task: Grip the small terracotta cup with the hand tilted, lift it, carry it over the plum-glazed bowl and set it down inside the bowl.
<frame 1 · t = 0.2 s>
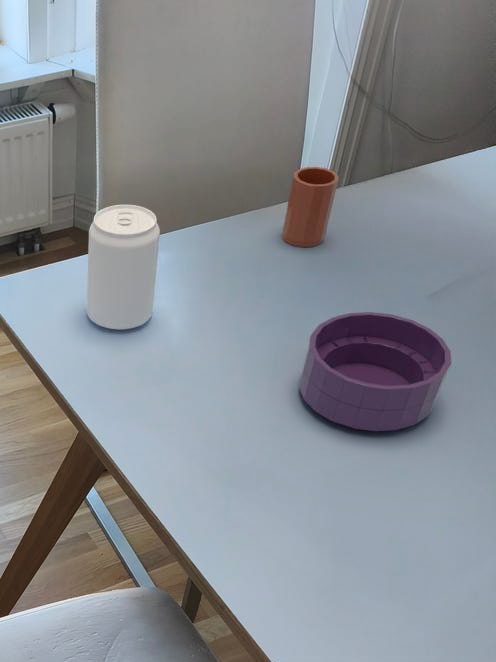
beverage can: (119, 317, 109), on the table
cup: (302, 237, 120), on the table
bowl: (363, 396, 97), on the table
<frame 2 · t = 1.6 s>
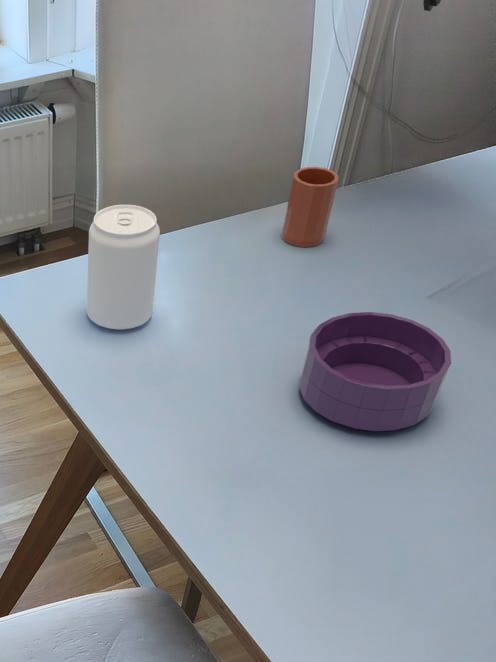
hand: (392, 0, 106), 24 cm above the table, tool tilted 45°, fingers open, 8 cm apart
nothing on the table moved.
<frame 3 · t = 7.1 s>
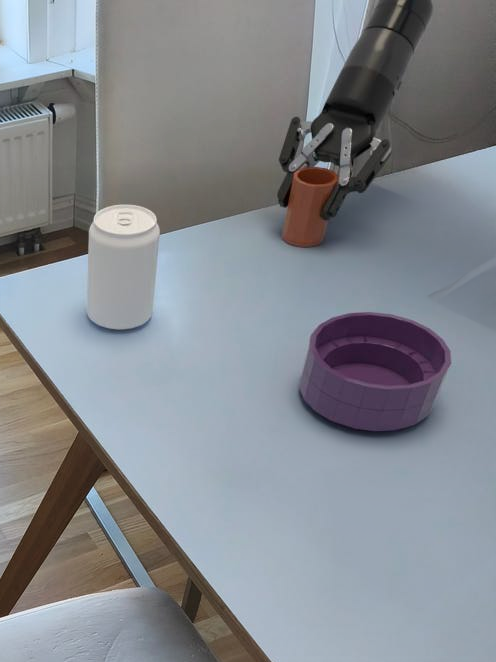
hand: (303, 210, 116), 4 cm above the table, tool tilted 45°, fingers closed on cup, 5 cm apart
cup: (302, 237, 120), on the table, touching gripper
everything else where it was.
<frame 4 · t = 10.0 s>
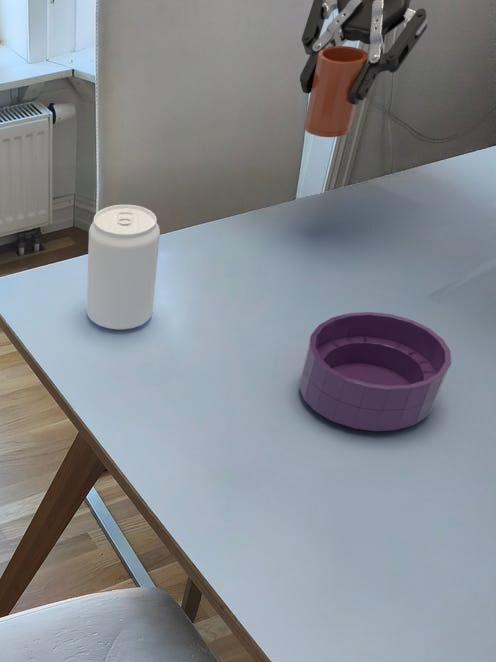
hand: (328, 94, 105), 18 cm above the table, tool tilted 45°, fingers closed on cup, 5 cm apart
cup: (327, 128, 109), point 14 cm above the table, touching gripper
everything else where it was.
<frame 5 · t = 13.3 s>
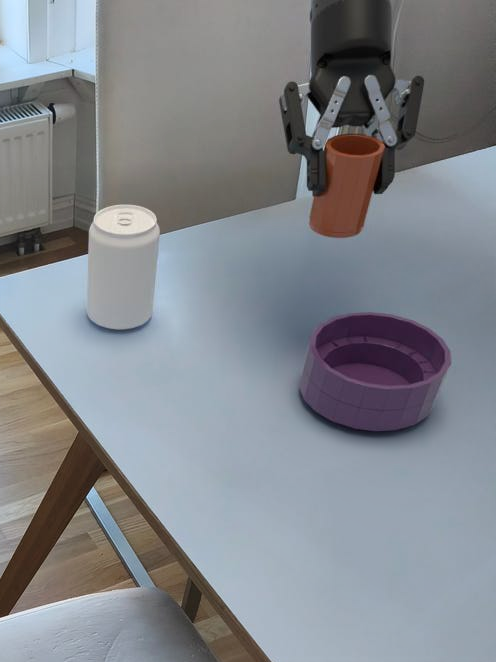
hand: (350, 191, 89), 18 cm above the table, tool tilted 45°, fingers closed on cup, 5 cm apart
cup: (335, 225, 93), point 14 cm above the table, touching gripper
everything else where it was.
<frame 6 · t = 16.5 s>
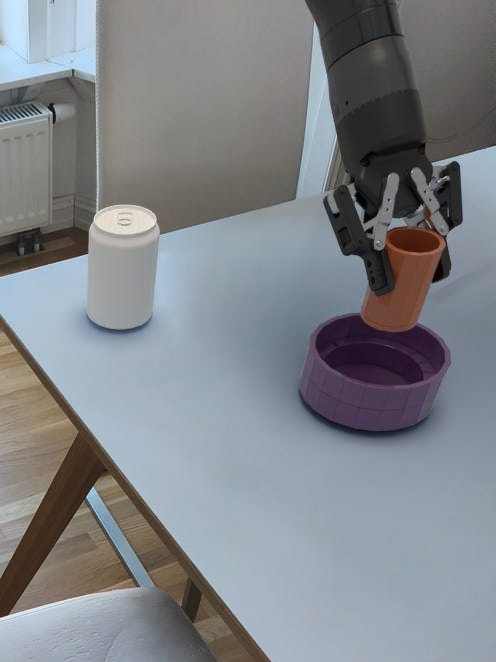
hand: (412, 286, 85), 14 cm above the table, tool tilted 45°, fingers closed on cup, 5 cm apart
cup: (388, 317, 90), point 10 cm above the table, touching gripper
everything else where it was.
when the fingers open (5 cm above the table, at t = 19.5 s): cup stays where it is, resting on bowl.
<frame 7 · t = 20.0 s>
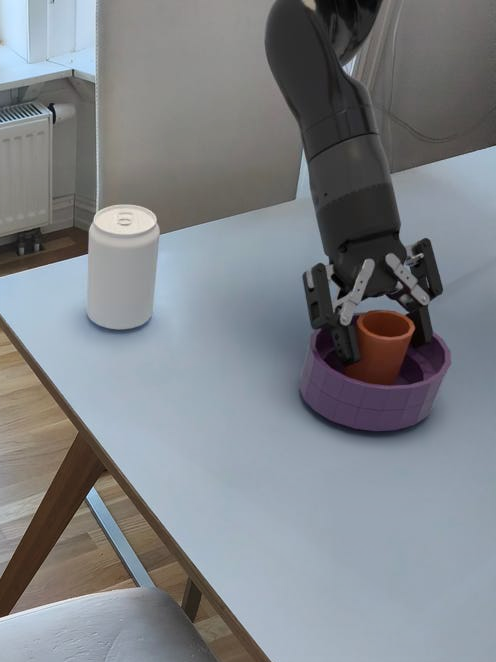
hand: (387, 355, 92), 6 cm above the table, tool tilted 45°, fingers open, 8 cm apart
cup: (364, 390, 96), point 1 cm above the table, touching bowl
everything else where it was.
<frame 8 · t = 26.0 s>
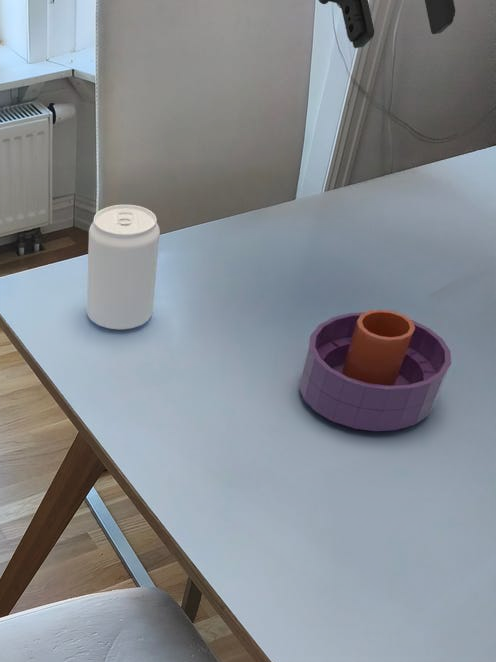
hand: (404, 35, 81), 31 cm above the table, tool tilted 45°, fingers open, 8 cm apart
nothing on the table moved.
at the end: cup inside the target area in the bowl (0.1 cm from its centre), point 0.8 cm above the bowl's base; cup tilted 0°; the gripper is holding nothing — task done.
